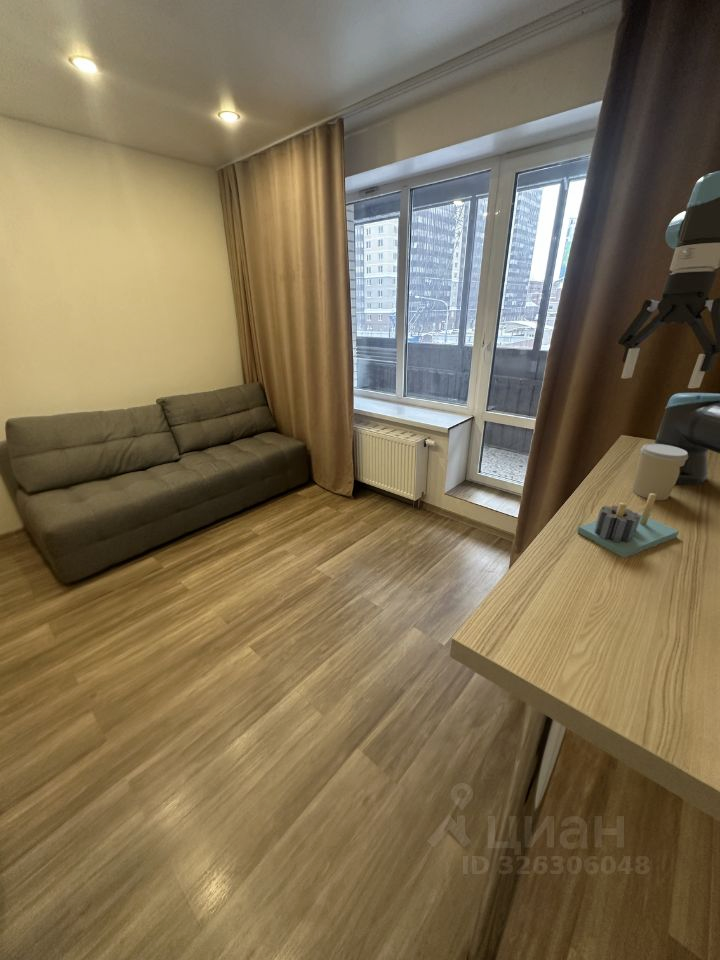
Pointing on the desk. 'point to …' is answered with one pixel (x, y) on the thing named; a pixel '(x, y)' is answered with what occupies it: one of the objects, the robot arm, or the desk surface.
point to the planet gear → (616, 524)
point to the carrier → (643, 535)
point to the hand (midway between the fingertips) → (657, 382)
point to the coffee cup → (658, 470)
